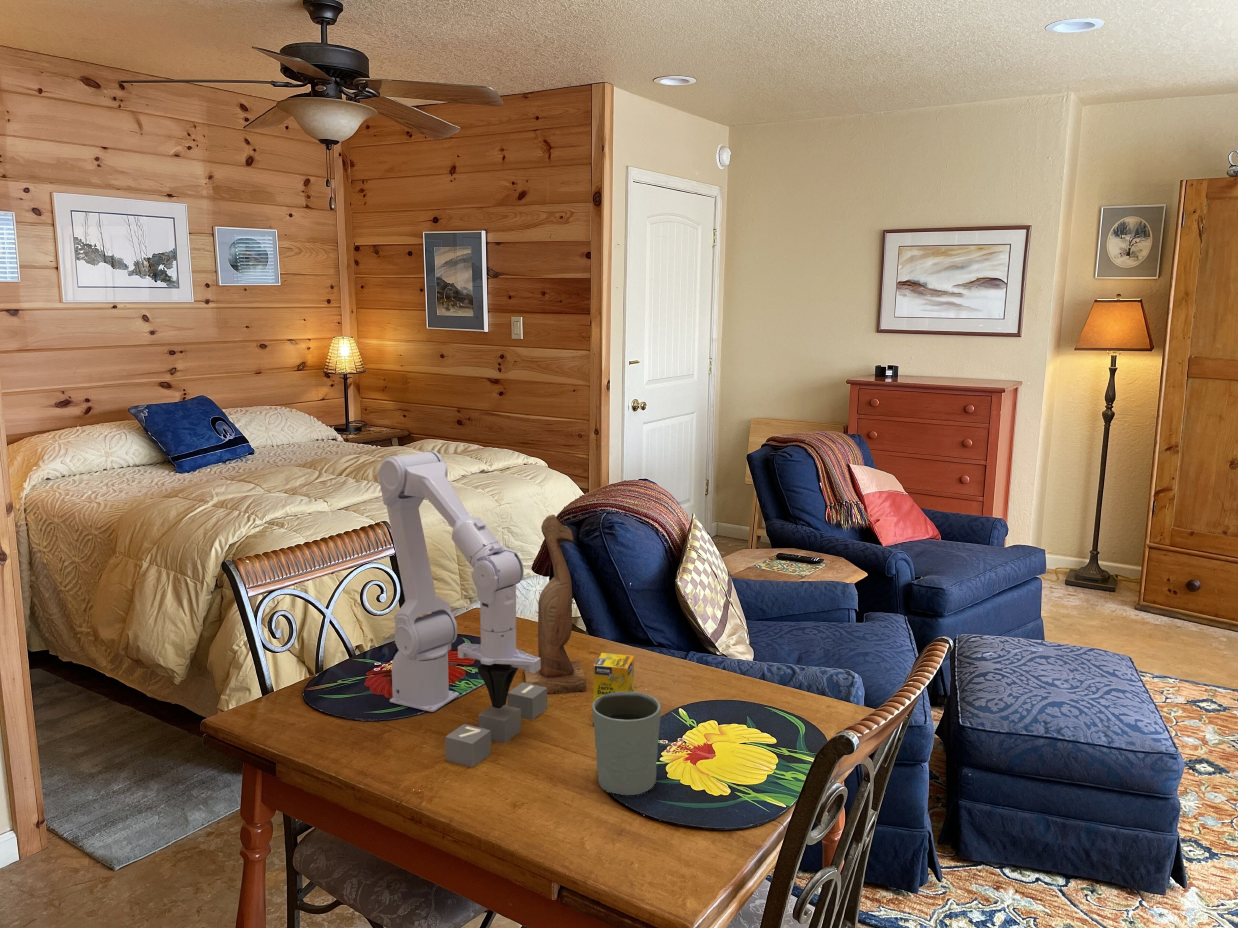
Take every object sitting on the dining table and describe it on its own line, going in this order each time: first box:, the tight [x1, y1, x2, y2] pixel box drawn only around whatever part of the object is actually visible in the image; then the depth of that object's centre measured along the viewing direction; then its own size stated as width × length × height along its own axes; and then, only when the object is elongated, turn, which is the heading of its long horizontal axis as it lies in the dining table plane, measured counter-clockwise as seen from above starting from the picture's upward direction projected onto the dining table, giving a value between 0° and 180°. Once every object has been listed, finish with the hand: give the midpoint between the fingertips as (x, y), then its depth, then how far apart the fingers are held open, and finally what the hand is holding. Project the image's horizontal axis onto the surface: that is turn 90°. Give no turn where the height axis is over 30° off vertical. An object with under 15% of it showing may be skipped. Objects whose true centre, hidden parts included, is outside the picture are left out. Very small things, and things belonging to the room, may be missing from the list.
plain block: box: [477, 704, 522, 744], centre depth 150 cm, size 5×5×4 cm
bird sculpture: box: [522, 514, 587, 695], centre depth 169 cm, size 11×12×32 cm
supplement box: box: [592, 652, 635, 728], centre depth 154 cm, size 6×6×11 cm
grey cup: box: [591, 691, 662, 795], centre depth 135 cm, size 10×10×12 cm
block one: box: [506, 682, 548, 721], centre depth 158 cm, size 5×5×4 cm
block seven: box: [444, 723, 492, 768], centre depth 142 cm, size 5×5×4 cm
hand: (499, 705), depth 150 cm, fingers closed
